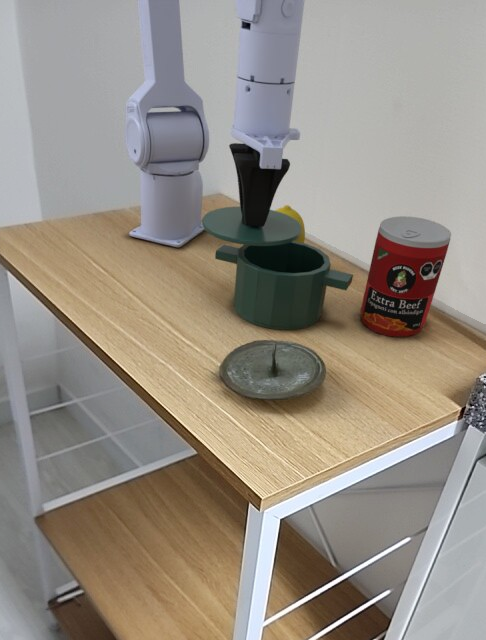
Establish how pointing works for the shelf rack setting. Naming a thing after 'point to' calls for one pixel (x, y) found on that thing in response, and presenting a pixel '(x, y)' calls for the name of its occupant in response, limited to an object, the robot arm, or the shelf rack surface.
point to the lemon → (296, 216)
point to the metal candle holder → (272, 370)
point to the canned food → (403, 275)
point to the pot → (281, 283)
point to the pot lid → (251, 228)
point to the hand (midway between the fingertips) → (252, 220)
